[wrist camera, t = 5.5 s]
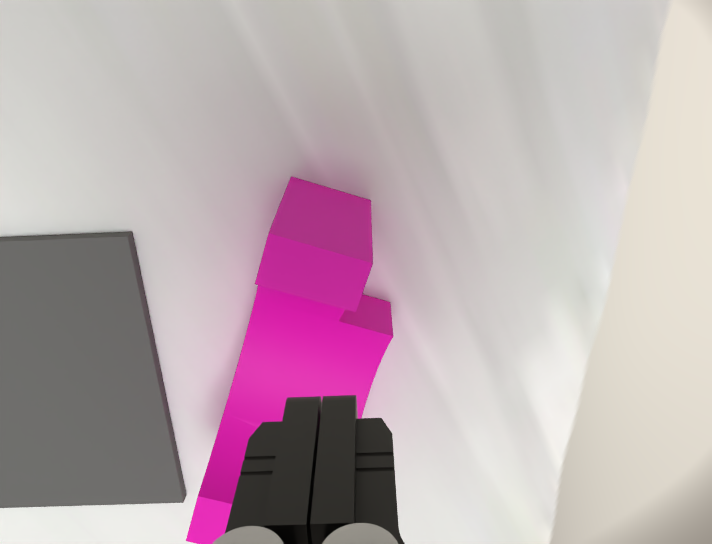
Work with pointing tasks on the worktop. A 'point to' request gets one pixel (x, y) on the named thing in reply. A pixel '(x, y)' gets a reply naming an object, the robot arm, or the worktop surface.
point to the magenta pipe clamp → (299, 332)
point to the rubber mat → (80, 377)
